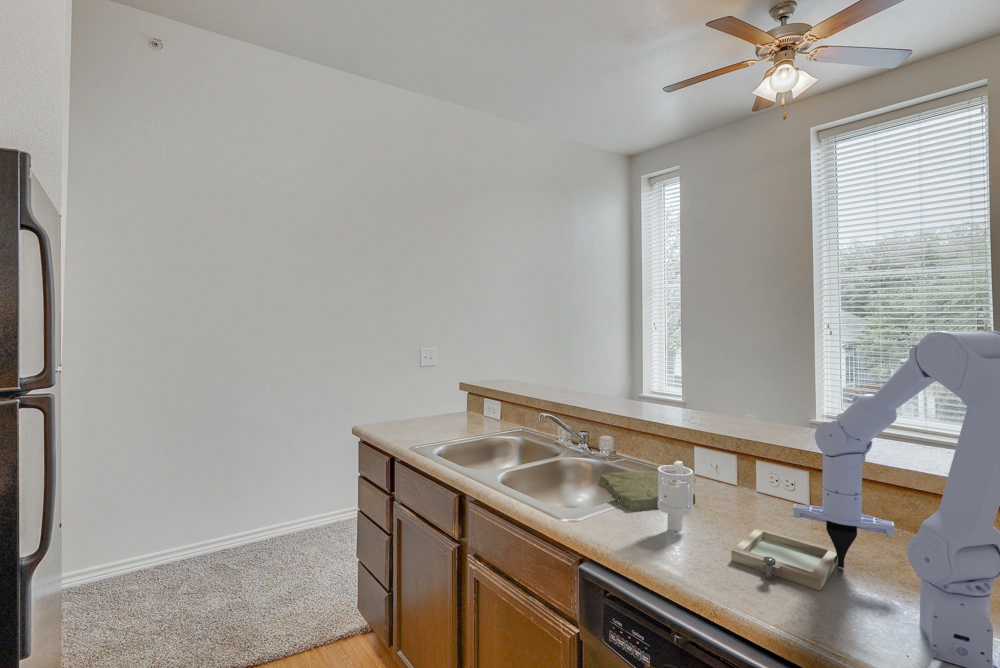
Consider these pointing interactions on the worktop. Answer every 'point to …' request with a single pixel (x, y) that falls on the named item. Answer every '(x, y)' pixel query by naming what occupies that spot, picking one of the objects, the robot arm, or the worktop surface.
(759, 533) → the picture frame
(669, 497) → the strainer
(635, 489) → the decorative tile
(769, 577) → the knob
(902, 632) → the worktop surface
